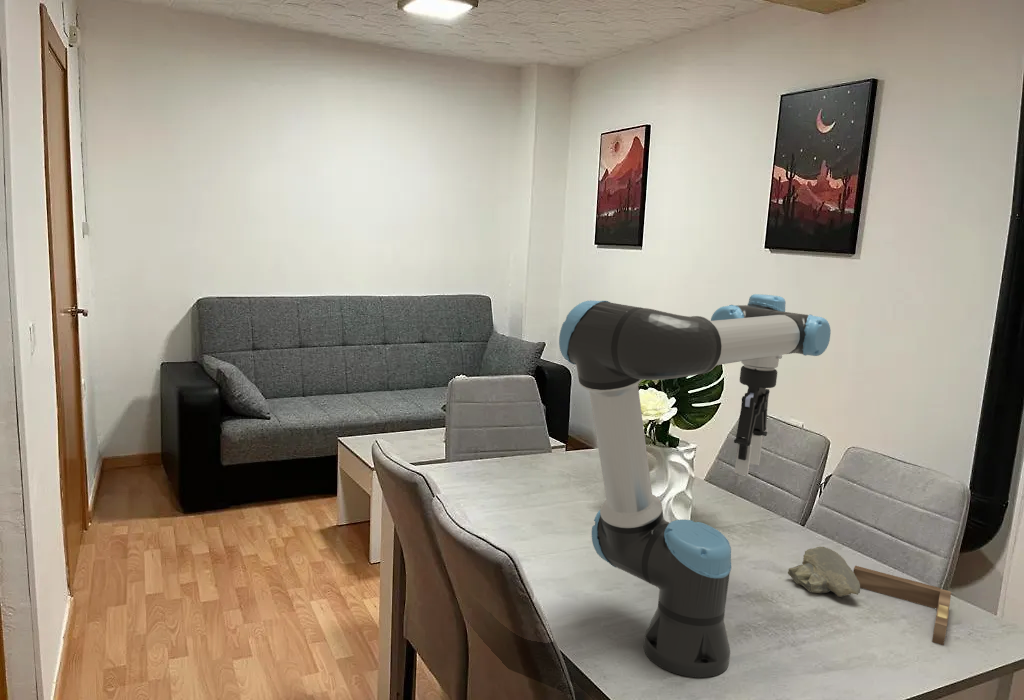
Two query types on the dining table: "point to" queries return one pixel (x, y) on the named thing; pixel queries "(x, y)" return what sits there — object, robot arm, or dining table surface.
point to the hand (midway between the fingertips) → (747, 468)
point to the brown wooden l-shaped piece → (909, 595)
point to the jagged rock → (825, 573)
